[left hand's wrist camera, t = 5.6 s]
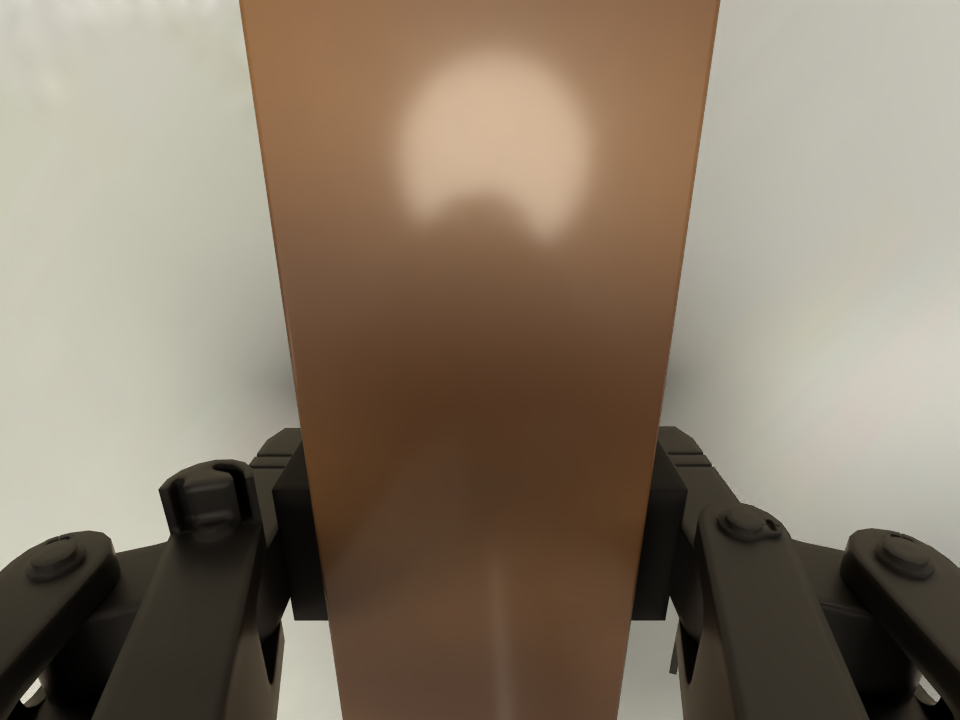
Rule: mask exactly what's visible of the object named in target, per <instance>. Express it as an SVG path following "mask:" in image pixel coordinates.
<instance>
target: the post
mask: <svg viewBox="0 0 960 720" xmlns="http://www.w3.org/2000/svg"><path fill="white" fill-rule="evenodd" d="M239 4H240V11H241V18H242V25H243V32H244V38H245V45H246V52H247V59H248V66H249V73H250V80H251V87H252V94H253V101H254V108H255V115H256V122H257V128H258V135H259V142H260V149H261V156H262V163H263V170H264V177H265V184H266V191H267V198H268V205H269V212H270V218H271V225H272V232H273V239H274V246H275V253H276V260H277V267H278V274H279V281H280V288H281V295H282V302H283V309H284V315H285V322H286V329H287V336H288V343H289V350H290V357H291V364H292V371H293V378H294V385H295V392H296V399H297V405H298V412H299V419H300V426H301V433H302V440H303V447H304V454H305V461H306V468H307V475H308V482H309V489H310V496H311V502H312V509H313V516H314V523H315V530H316V537H317V544H318V551H319V558H320V565H321V572H322V579H323V586H324V592H325V599H326V606H327V613H328V620H329V627H330V634H331V641H332V648H333V655H334V662H335V669H336V676H337V683H338V689H339V696H340V703H341V710H342V717H343V720H617V715H618V708H619V701H620V694H621V687H622V680H623V673H624V666H625V659H626V652H627V645H628V638H629V631H630V624H631V617H632V610H633V603H634V596H635V590H636V583H637V576H638V569H639V562H640V555H641V548H642V541H643V534H644V527H645V520H646V513H647V506H648V499H649V492H650V485H651V478H652V471H653V464H654V458H655V451H656V444H657V437H658V430H659V423H660V416H661V409H662V402H663V395H664V388H665V381H666V374H667V367H668V360H669V353H670V346H671V339H672V332H673V326H674V319H675V312H676V305H677V298H678V291H679V284H680V277H681V270H682V263H683V256H684V249H685V242H686V235H687V228H688V221H689V214H690V207H691V200H692V194H693V187H694V180H695V173H696V166H697V159H698V152H699V145H700V138H701V131H702V124H703V117H704V110H705V103H706V96H707V89H708V82H709V75H710V68H711V62H712V55H713V48H714V41H715V34H716V27H717V20H718V13H719V6H720V0H239Z"/></svg>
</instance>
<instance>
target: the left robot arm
mask: <svg viewBox="0 0 960 720" xmlns="http://www.w3.org/2000/svg"><path fill="white" fill-rule="evenodd" d="M159 493H160V497H161V501H162V504H163V508H164V512H165V515H166V519H167V523H168V526H169V530H170V534H171V535H170V537H169V539H168V542H164V543H160V544H157V545H152V546H148V547H143V548H138V549H133V550H129V551H124V552H119V553H115V550H114V547H113V544H112V541H111V539H110V538H109V537H108V536H106V535H105V534H104V533H102V532H95V531H82V532H74V533H68V534H64V535H61V536H59V537H58V536H57V537H54V538H51V539H48V540H46V541H45V542H43V543H41V544H39V545H37V546H35V547H33V548H31V549H29V550H27V551H26V552H24V553H23V554H22V555H20V556H19V557H17V558H16V559H15V560H13V561H12V562H11V563H9V564H8V565H7V566H6V567H5V568H4V569H3V570H2V571H0V720H276V719H277V710H278V700H279V690H280V681H281V671H282V661H283V651H284V642H285V640H284V634H283V628H282V622H281V618H282V615H283V613H284V611H285V608H286V606H287V604H288V601H289V599H290V597H291V603H292V609H293V614H294V620H328V613H327V606H326V599H325V592H324V586H323V579H322V572H321V565H320V558H319V551H318V544H317V537H316V530H315V523H314V516H313V509H312V502H311V496H310V489H309V482H308V475H307V468H306V461H305V454H304V447H303V440H302V433H301V428H285V429H283V430H282V431H280V432H279V433H277V434H276V435H274V436H273V437H271V438H270V439H268V440H267V441H266V442H265V444H264V445H263V447H262V448H261V449H260V451H259V452H258V453H257V457H254V459H253V460H252V462H251V463H250V464H249V465H247V464H246V463H245V462H241V461H236V460H213V461H209V462H204V463H199V464H196V465H194V466H191V467H189V468H186V469H184V470H181V471H180V472H178V473H177V474H175V475H173V476H172V477H170V478H169V479H167V480H166V481H165V483H164V484H163V485H162V486H161V487H160V488H159ZM669 596H670V597H671V600H672V602H673V604H674V607H675V609H676V611H677V614H678V616H679V622H678V628H677V633H676V638H675V643H674V649H673V654H672V659H671V665H670V671H669V673H672V674H676V673H677V668H678V669H679V679H680V689H681V698H682V708H683V718H684V720H960V568H958V567H957V566H956V565H955V564H954V563H953V562H952V561H950V560H949V559H948V558H947V557H945V556H944V555H942V554H941V553H940V552H938V551H937V550H935V549H934V548H933V547H931V546H929V545H927V544H925V543H923V542H920V541H918V540H916V539H915V538H913V537H911V536H908V535H905V534H900V533H898V532H894V531H890V530H882V529H873V528H870V529H863V530H857V531H856V532H855V533H853V534H852V535H851V536H850V537H849V540H848V543H847V546H846V549H845V551H842V550H837V549H833V548H828V547H823V546H818V545H813V544H809V543H804V542H800V541H797V540H793V539H792V538H791V536H790V534H789V532H788V531H787V530H786V528H785V527H784V526H783V524H782V523H781V522H780V521H778V520H777V519H776V518H774V517H773V516H772V515H770V514H769V513H767V512H765V511H763V510H761V509H758V508H756V507H754V506H752V505H748V504H744V503H740V502H739V500H738V499H737V498H736V496H735V495H734V494H733V492H732V491H731V489H730V488H729V487H728V485H727V484H726V483H725V481H724V480H723V479H722V477H721V476H720V475H719V473H718V472H717V471H716V469H715V468H714V467H712V464H711V462H710V461H709V460H708V458H707V457H706V456H705V455H703V452H702V450H701V449H700V448H699V446H698V445H697V443H696V442H695V441H694V439H693V438H691V437H690V436H688V435H687V434H685V433H684V432H682V431H681V430H679V429H678V428H676V427H659V430H658V437H657V444H656V451H655V458H654V464H653V471H652V478H651V485H650V492H649V499H648V506H647V513H646V520H645V527H644V534H643V541H642V548H641V555H640V562H639V569H638V576H637V583H636V590H635V596H634V603H633V610H632V617H631V620H665V618H666V613H667V607H668V601H669ZM922 675H923V676H924V677H925V678H926V679H927V680H928V682H929V683H930V684H931V685H932V686H933V688H934V689H935V690H936V691H937V692H938V694H939V695H940V696H941V698H940V700H939V701H938V702H936V701H934V700H933V699H932V698H931V697H930V696H929V695H928V694H927V693H926V691H925V690H924V689H923V688H922V686H921V685H920V684H919V682H920V679H921V677H922ZM37 678H39V680H40V683H41V687H40V688H39V689H38V690H37V692H36V693H35V694H34V695H33V696H32V697H31V698H30V699H29V700H28V701H27V702H26V703H25V704H22V703H21V701H20V698H21V697H22V696H23V695H24V694H25V692H26V691H27V690H28V689H29V688H30V686H31V685H32V684H33V683H34V681H35V680H36V679H37Z"/></svg>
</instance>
